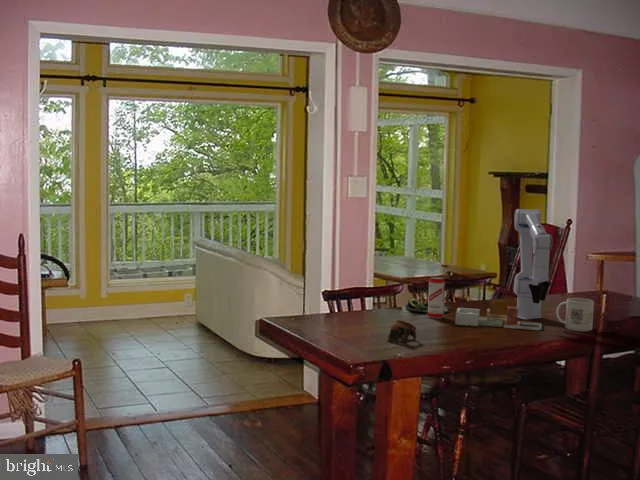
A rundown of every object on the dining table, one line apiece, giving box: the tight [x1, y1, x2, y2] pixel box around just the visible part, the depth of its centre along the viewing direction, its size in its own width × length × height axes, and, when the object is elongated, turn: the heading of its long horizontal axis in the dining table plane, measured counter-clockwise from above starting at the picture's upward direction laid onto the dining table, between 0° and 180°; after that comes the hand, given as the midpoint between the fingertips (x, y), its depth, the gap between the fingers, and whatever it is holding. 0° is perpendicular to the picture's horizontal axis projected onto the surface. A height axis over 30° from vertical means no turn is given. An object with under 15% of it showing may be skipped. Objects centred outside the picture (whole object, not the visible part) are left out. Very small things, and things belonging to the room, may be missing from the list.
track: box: [478, 316, 543, 331], centre depth 295 cm, size 24×9×2 cm, turn 76°
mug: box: [555, 297, 595, 332], centre depth 293 cm, size 10×12×11 cm
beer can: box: [427, 276, 446, 320], centre depth 306 cm, size 6×6×16 cm
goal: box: [454, 307, 481, 327], centre depth 298 cm, size 8×11×4 cm
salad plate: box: [405, 297, 452, 315], centre depth 322 cm, size 19×18×5 cm
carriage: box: [486, 305, 521, 326], centre depth 295 cm, size 12×6×7 cm, turn 76°
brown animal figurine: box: [387, 319, 417, 344], centre depth 263 cm, size 12×9×8 cm
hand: (538, 301), depth 292 cm, fingers open, 7 cm apart
